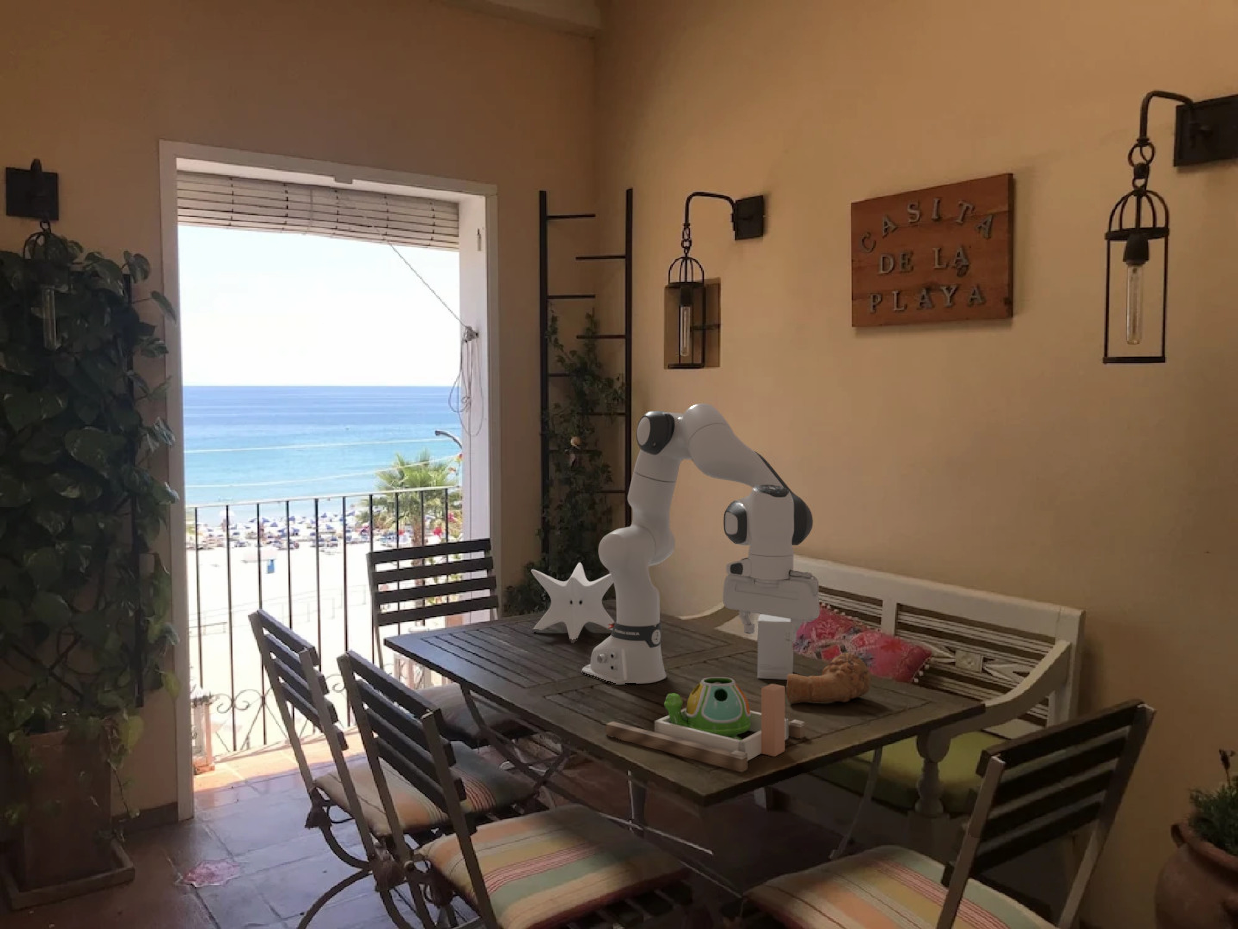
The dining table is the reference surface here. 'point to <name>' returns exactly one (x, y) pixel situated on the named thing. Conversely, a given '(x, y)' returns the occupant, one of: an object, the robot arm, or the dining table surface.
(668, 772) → the dining table surface
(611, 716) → the dining table surface
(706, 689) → the turtle holder
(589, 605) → the starfish
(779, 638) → the supplement box
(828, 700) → the clay pipe
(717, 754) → the bay rails
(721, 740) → the sled
